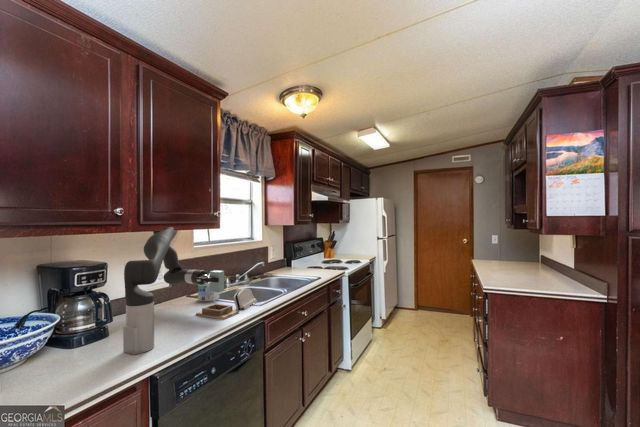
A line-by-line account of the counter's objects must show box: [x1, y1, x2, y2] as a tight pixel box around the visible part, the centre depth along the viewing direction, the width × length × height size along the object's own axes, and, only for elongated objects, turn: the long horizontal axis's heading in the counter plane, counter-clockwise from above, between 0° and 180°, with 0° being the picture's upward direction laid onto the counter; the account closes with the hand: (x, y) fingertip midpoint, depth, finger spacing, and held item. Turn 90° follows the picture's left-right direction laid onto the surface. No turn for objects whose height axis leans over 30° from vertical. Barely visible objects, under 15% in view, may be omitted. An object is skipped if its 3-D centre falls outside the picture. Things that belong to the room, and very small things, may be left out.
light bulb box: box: [197, 282, 220, 302], centre depth 186 cm, size 11×7×11 cm, turn 83°
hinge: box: [233, 288, 258, 311], centre depth 173 cm, size 17×5×10 cm, turn 169°
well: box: [195, 303, 240, 320], centre depth 157 cm, size 11×18×4 cm, turn 66°
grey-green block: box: [209, 269, 225, 293], centre depth 157 cm, size 4×6×10 cm, turn 66°
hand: (221, 279), depth 156 cm, fingers closed on grey-green block, 4 cm apart
